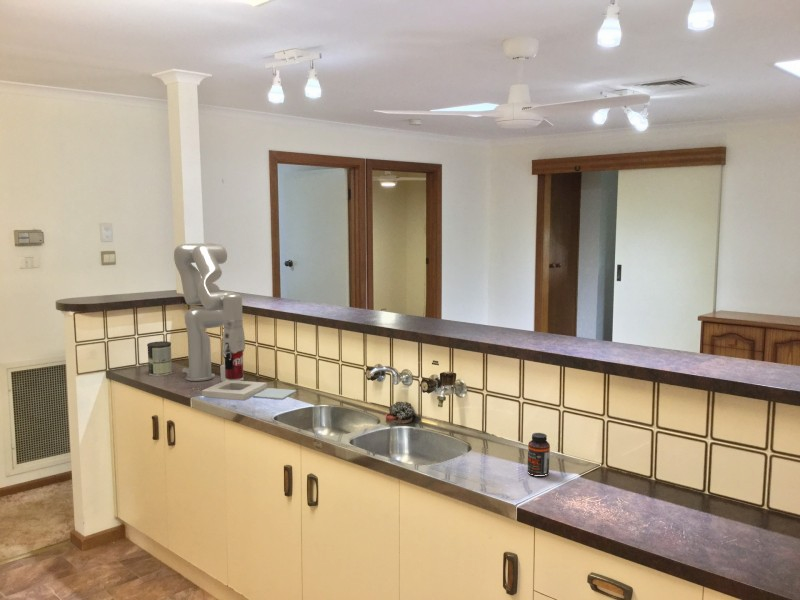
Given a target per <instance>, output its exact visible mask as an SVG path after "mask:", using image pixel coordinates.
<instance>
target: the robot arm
mask: <svg viewBox="0 0 800 600" xmlns="http://www.w3.org/2000/svg"><path fill="white" fill-rule="evenodd" d="M173 260H174V261H173V262H174V264H175V267H176V269H177V271H178V274H179V276H180V281H181V286H182V293H183V298H184V301H185V303H186V305H189V306H199V307H193V308H190V309H188V310H187V311H185V313H184V323H185V327H186V328H185V329H186V333H187V336H186V337H187V349H188V350H187V352H188V353H187V354H188V356H187V357H188V367H183V368H182V370H181V371H182V373H183V374H186V375H185V380H187V381H190V382H203V381H209V380H212V379H214V378H216V374H215V373H213V372H212V356H211V354H212V353H211V338H210V335H209V334H208V333H207V332H206V331H205V330H207V329H214V328H221V327H223V337H222V339H223V340H222V350H221V354H222V356H223V360H224V364H225V369H229V370H232V369H233V360H231V359H232V353H237V352H238V351H240V350H243V352H244V351H245V349H246V338H245V330H244V325H243V296H242V295H241V294H240V293H236V292H235V291H234V292H233V291H221V290H220V287H219V286H218V285H217V284H216V283H214V282H217V281H218V280H219V279H220V278H221V277H222V274H223V271H222V269H221V267H220V265H222V264H224V263H226V261H227V260H228V253H227V250H226V248H225V246H223V245H222V244H217V243H211V242H209V243H208V242H207V243H206V242H204V243H183V244H180V245H177V246H176V247H175V249H174V251H173ZM194 263H195V265H196V266H195V265H194ZM201 305H202V307H200V306H201ZM228 351H230V352H228ZM228 354H230V356H229V355H228Z"/></svg>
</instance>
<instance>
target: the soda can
mask: <svg viewBox="0 0 800 600" xmlns="http://www.w3.org/2000/svg"><path fill="white" fill-rule="evenodd" d="M228 352H230V351H228ZM228 355H229V356H230V354H228ZM231 360H233V369H232V370H229V369H225V378H226V379H227V380H240V379H242V378H243V374H244V351H243V350H240V351H238V352H237V353H232V359H231Z"/></svg>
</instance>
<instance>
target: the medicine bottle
mask: <svg viewBox="0 0 800 600" xmlns="http://www.w3.org/2000/svg"><path fill="white" fill-rule="evenodd" d="M219 368H220V381H221V382H223V381H225V380H227V379H226V378H225V363H224V364H221V365H220V367H219ZM244 374H245V373H243V378H242V379H240V380H236V381H245V379H244V376H245V375H244Z"/></svg>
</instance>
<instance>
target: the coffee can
mask: <svg viewBox="0 0 800 600" xmlns="http://www.w3.org/2000/svg"><path fill="white" fill-rule="evenodd" d="M146 346H147V359H148V360H147V362H148V375H149V376H152V377H160V376H161V377H162V376H167V375H172V373H173V369H172V368H173V366H172V361H173V360H172V342H171V341H166V340H165V341H163V340H162V341H152V342H149V343H147V344H146Z"/></svg>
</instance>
